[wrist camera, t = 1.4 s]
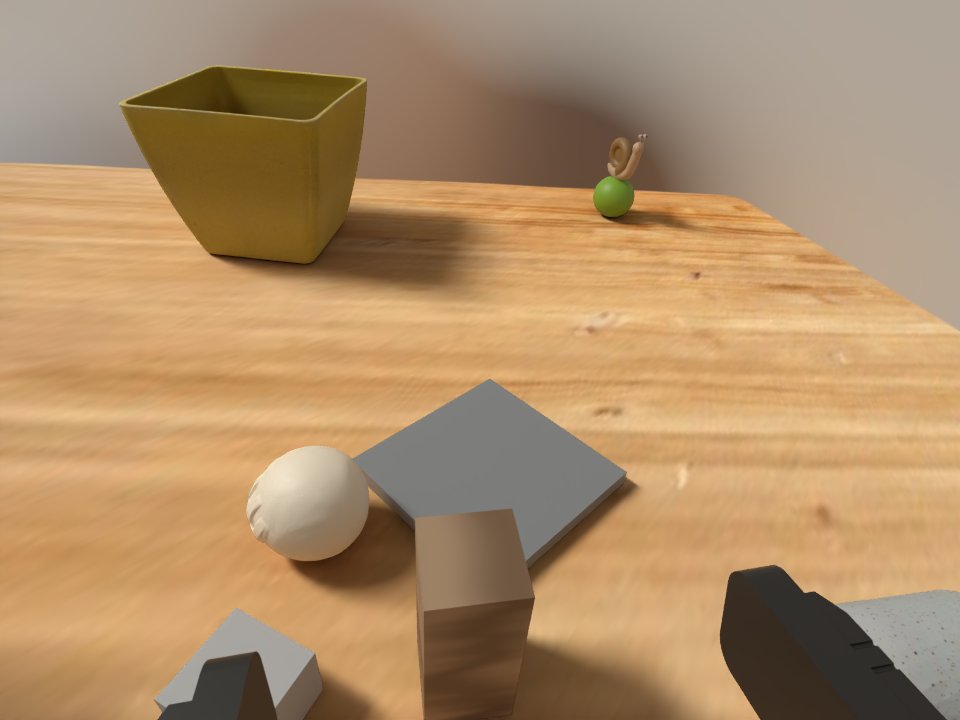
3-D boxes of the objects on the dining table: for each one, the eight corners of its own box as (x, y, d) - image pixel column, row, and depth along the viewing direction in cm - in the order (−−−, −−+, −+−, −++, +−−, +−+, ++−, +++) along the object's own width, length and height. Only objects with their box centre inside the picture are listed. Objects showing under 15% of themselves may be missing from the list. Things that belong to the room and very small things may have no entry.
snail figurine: (607, 228, 79) (626, 136, 71) (583, 209, 83) (597, 121, 76) (641, 224, 81) (662, 133, 73) (615, 205, 85) (633, 118, 78)
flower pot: (238, 198, 80) (211, 62, 70) (376, 212, 79) (369, 76, 69) (161, 264, 65) (112, 103, 55) (331, 283, 64) (312, 122, 54)
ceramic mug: (770, 645, 34) (823, 574, 30) (893, 633, 35) (962, 562, 31) (885, 872, 26) (980, 823, 22) (1038, 848, 28) (1161, 796, 23)
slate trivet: (352, 470, 43) (351, 459, 42) (488, 389, 51) (489, 378, 50) (488, 603, 35) (489, 592, 35) (623, 483, 44) (626, 472, 43)
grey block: (177, 736, 29) (154, 699, 27) (250, 646, 33) (236, 607, 30) (255, 790, 28) (239, 757, 25) (323, 690, 31) (314, 653, 29)
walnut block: (424, 727, 30) (423, 611, 23) (417, 641, 33) (415, 517, 27) (511, 714, 31) (534, 597, 24) (495, 630, 34) (512, 508, 28)
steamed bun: (259, 502, 40) (241, 432, 36) (368, 488, 42) (362, 419, 38) (251, 592, 35) (228, 522, 31) (375, 572, 37) (369, 503, 33)
